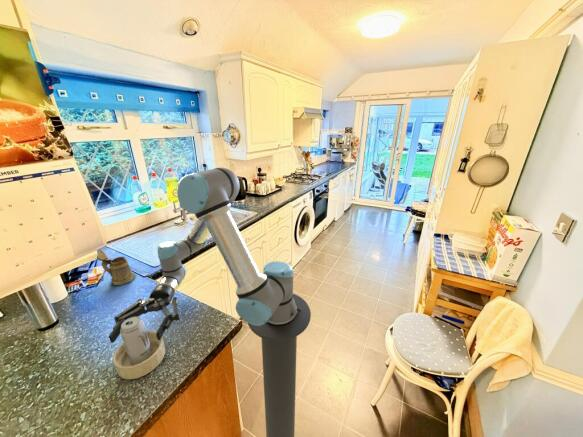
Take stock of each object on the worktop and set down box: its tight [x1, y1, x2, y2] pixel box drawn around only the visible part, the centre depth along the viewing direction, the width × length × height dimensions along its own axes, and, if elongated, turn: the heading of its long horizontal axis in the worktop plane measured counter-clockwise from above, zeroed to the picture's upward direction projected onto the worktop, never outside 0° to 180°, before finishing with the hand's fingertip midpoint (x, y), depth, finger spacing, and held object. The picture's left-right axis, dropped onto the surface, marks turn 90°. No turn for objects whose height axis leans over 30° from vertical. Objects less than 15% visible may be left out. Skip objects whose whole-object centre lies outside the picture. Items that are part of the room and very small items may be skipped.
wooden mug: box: [96, 249, 135, 286], centre depth 110 cm, size 9×14×18 cm, turn 105°
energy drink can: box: [120, 316, 152, 365], centre depth 72 cm, size 6×6×15 cm
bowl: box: [112, 330, 166, 380], centre depth 74 cm, size 13×13×6 cm
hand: (134, 338), depth 71 cm, fingers open, 13 cm apart
